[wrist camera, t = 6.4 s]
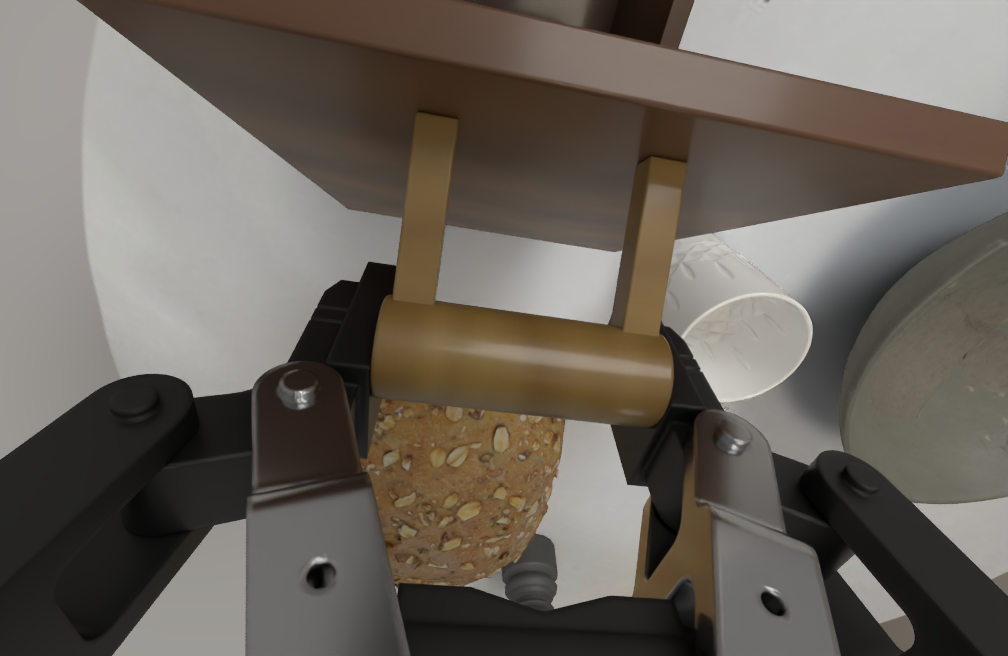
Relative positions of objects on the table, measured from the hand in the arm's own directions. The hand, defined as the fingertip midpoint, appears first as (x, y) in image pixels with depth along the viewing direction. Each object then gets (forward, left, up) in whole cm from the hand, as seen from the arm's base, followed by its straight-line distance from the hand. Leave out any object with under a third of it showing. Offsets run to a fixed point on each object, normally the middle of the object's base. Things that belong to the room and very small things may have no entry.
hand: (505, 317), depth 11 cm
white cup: (+9, +15, -22) cm, 28 cm away
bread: (+27, -3, -22) cm, 35 cm away
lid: (-2, 0, -5) cm, 5 cm away
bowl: (+11, +39, -22) cm, 46 cm away
